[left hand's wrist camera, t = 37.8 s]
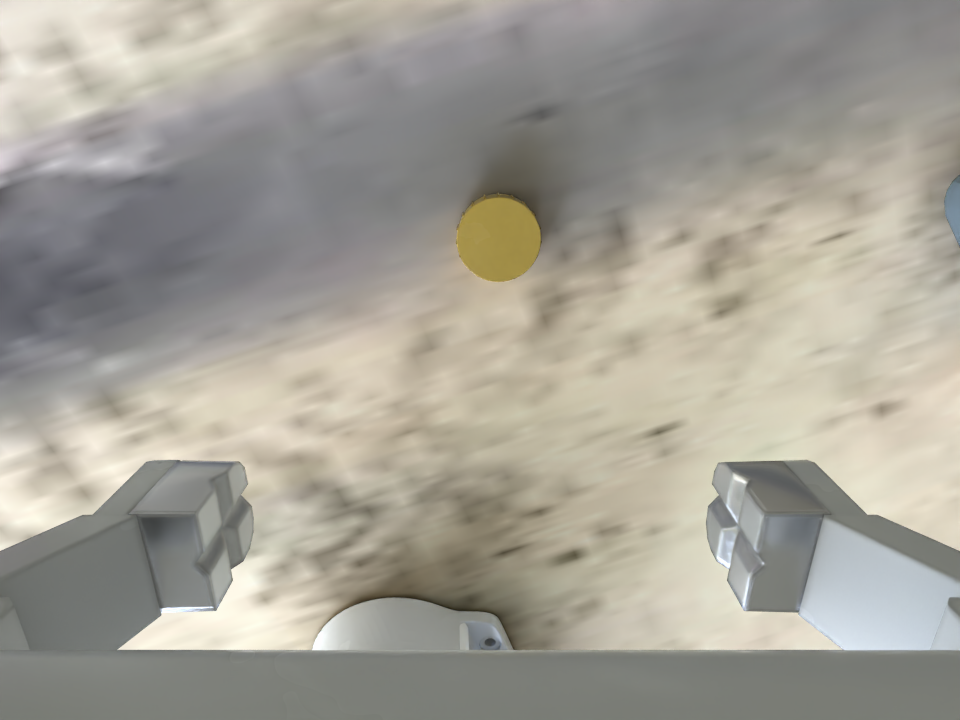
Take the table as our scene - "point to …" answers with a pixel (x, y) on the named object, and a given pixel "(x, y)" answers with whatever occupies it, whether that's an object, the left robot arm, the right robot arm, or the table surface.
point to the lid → (498, 237)
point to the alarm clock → (953, 207)
